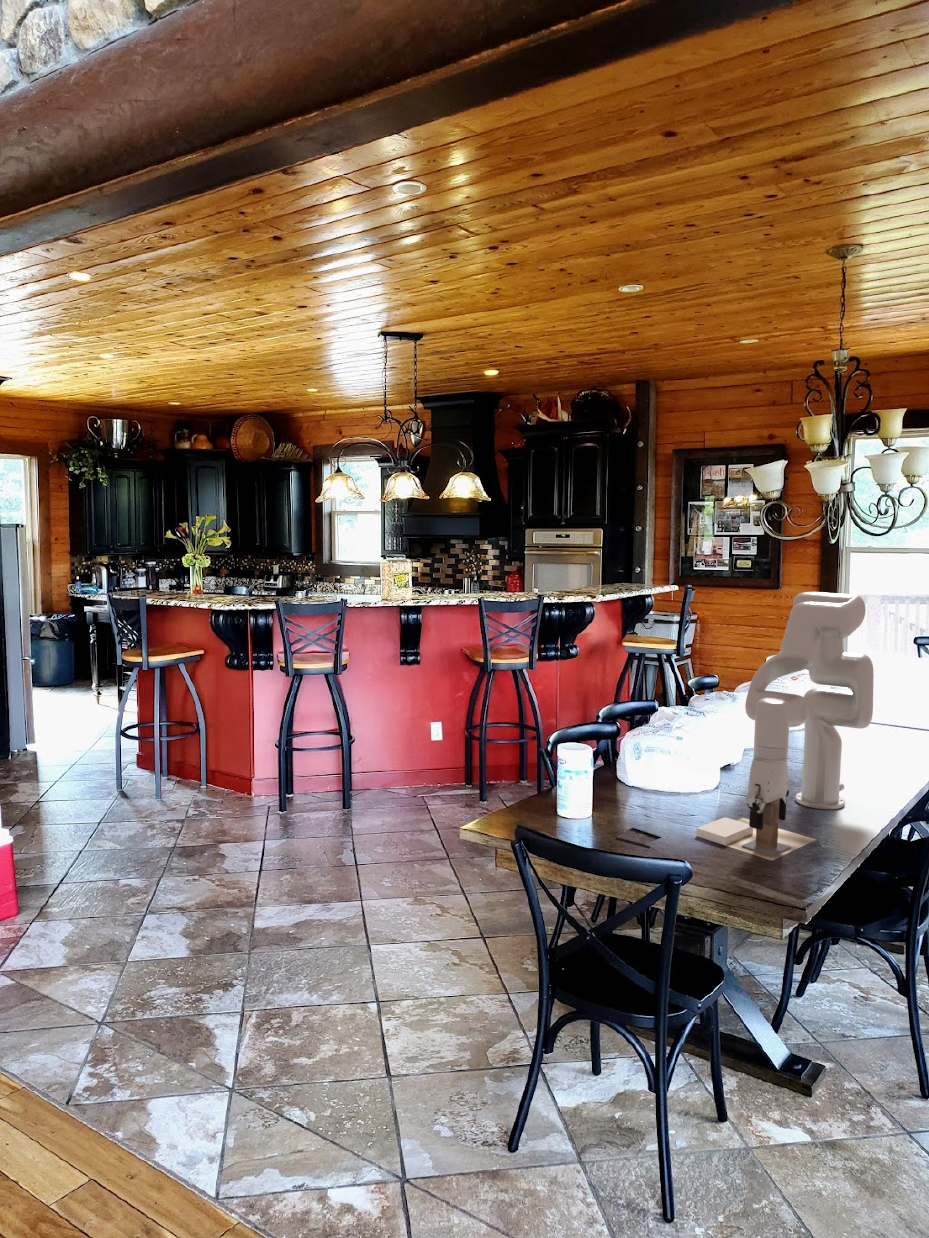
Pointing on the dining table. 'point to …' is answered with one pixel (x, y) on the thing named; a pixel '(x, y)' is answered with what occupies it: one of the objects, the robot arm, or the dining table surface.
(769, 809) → the brown wooden block
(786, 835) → the board
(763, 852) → the mat
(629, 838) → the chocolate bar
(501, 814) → the dining table surface
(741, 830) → the tile
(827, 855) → the dining table surface
